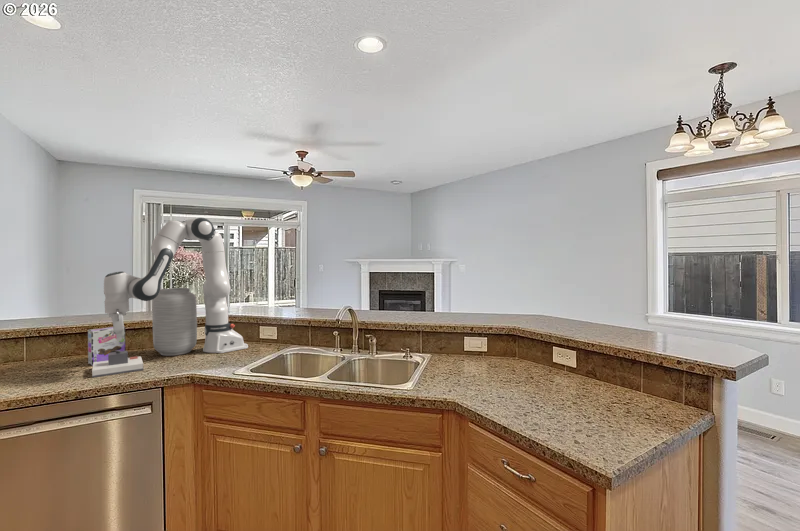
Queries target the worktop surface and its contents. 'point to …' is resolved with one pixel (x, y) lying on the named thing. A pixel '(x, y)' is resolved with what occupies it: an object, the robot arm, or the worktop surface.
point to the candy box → (103, 344)
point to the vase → (174, 321)
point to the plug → (118, 357)
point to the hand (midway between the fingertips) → (119, 338)
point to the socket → (117, 367)
